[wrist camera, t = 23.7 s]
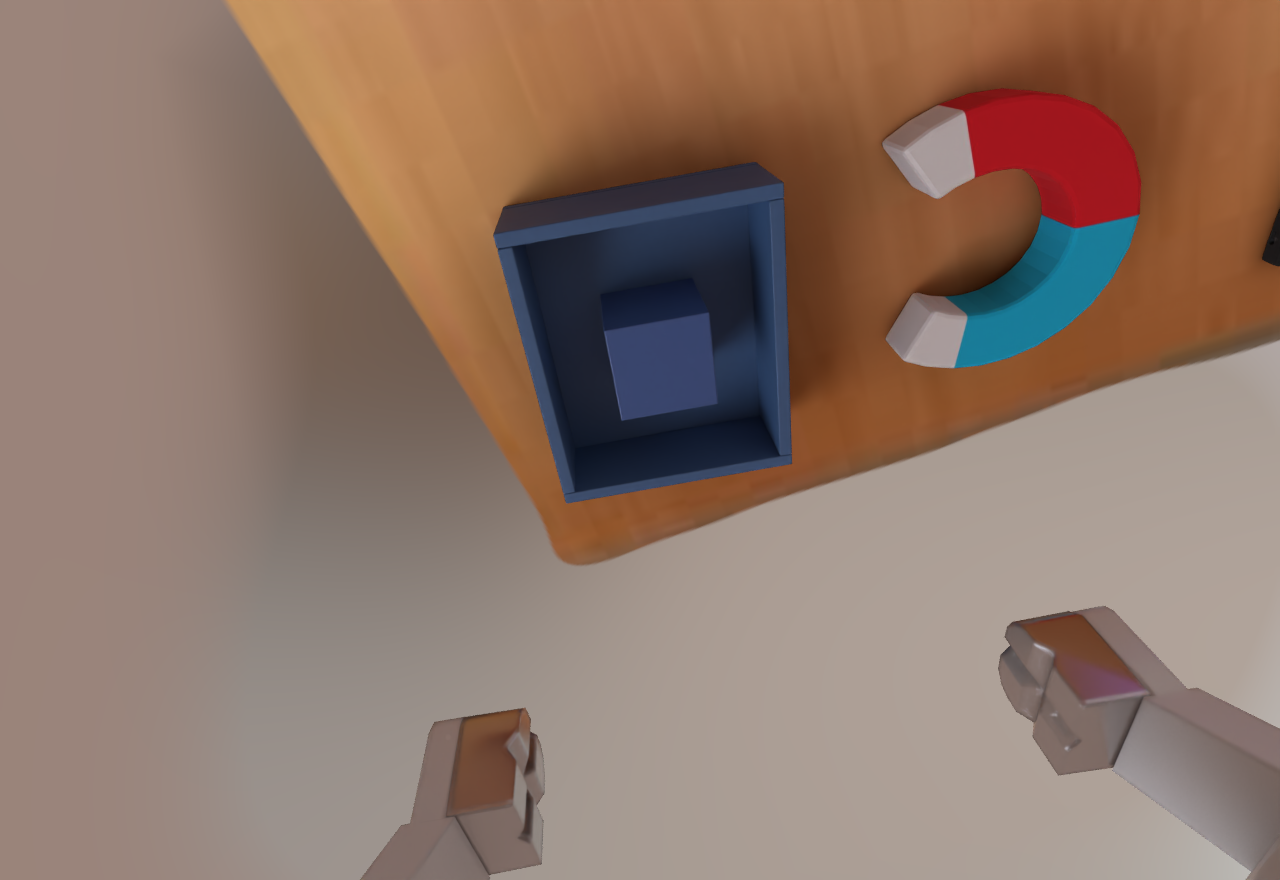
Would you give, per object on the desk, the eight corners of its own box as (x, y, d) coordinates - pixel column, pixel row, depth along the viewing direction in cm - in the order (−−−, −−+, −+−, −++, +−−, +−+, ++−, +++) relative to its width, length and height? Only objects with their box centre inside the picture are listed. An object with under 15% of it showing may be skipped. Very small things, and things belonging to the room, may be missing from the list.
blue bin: (503, 206, 28) (492, 234, 25) (755, 161, 28) (784, 181, 25) (566, 453, 36) (566, 504, 32) (768, 417, 36) (792, 464, 32)
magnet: (1118, 339, 31) (904, 382, 32) (1083, 317, 33) (884, 358, 34) (1171, 57, 25) (904, 120, 26) (1123, 55, 27) (879, 113, 28)
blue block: (599, 293, 30) (603, 330, 27) (692, 277, 30) (709, 312, 27) (615, 377, 33) (621, 421, 29) (701, 361, 33) (718, 404, 29)
